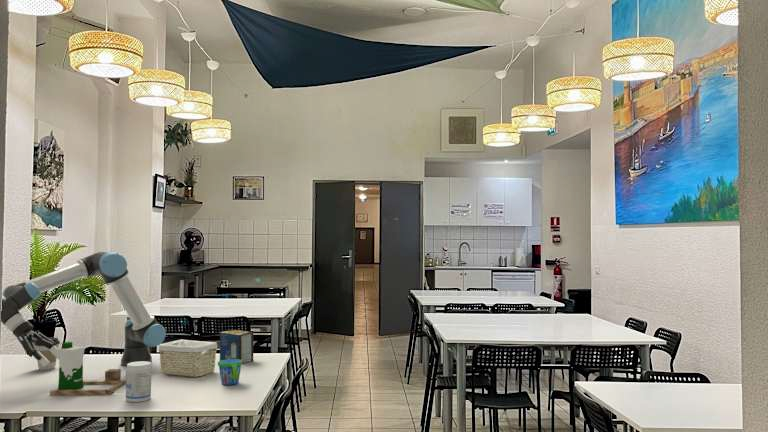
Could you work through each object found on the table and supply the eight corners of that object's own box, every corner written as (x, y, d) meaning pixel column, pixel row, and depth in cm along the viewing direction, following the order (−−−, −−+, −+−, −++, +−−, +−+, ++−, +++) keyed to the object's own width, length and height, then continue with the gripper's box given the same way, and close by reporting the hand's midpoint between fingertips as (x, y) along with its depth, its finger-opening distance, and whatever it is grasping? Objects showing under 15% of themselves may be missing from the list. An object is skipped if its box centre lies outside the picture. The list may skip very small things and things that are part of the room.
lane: (125, 385, 273) (125, 380, 273) (110, 394, 256) (110, 390, 256) (68, 385, 272) (68, 381, 272) (49, 395, 255) (49, 390, 255)
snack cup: (214, 381, 280) (214, 359, 281) (237, 379, 285) (237, 357, 285) (221, 388, 266) (221, 365, 267) (245, 386, 271) (245, 363, 271)
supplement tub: (121, 400, 248) (121, 363, 248) (143, 395, 255) (143, 360, 256) (133, 404, 242) (133, 366, 242) (155, 399, 249) (156, 363, 249)
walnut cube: (120, 379, 280) (120, 368, 280) (116, 382, 275) (116, 371, 275) (109, 380, 280) (109, 369, 280) (104, 382, 275) (105, 371, 275)
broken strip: (124, 381, 280) (125, 379, 280) (120, 384, 275) (120, 382, 275) (78, 382, 279) (78, 380, 279) (73, 384, 274) (73, 382, 274)
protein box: (234, 358, 336) (234, 329, 336) (253, 361, 327) (253, 332, 327) (219, 361, 327) (219, 331, 328) (238, 364, 318) (238, 334, 319)
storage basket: (156, 374, 295) (157, 343, 296) (180, 368, 310) (180, 338, 310) (196, 378, 286) (196, 347, 286) (218, 372, 300) (218, 341, 301)
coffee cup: (28, 370, 305) (29, 339, 305) (48, 365, 315) (49, 336, 316) (44, 371, 300) (45, 341, 301) (64, 367, 311) (65, 337, 311)
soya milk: (68, 386, 268) (69, 340, 269) (86, 387, 267) (87, 341, 267) (54, 391, 260) (55, 344, 261) (72, 392, 258) (73, 345, 259)
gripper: (28, 328, 275) (61, 361, 276) (-4, 337, 250) (33, 373, 251) (40, 316, 276) (74, 349, 276) (10, 324, 251) (46, 360, 251)
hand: (54, 361), depth 263 cm, fingers open, 13 cm apart
